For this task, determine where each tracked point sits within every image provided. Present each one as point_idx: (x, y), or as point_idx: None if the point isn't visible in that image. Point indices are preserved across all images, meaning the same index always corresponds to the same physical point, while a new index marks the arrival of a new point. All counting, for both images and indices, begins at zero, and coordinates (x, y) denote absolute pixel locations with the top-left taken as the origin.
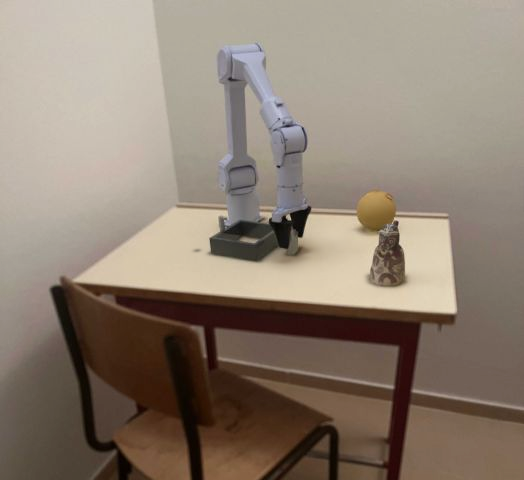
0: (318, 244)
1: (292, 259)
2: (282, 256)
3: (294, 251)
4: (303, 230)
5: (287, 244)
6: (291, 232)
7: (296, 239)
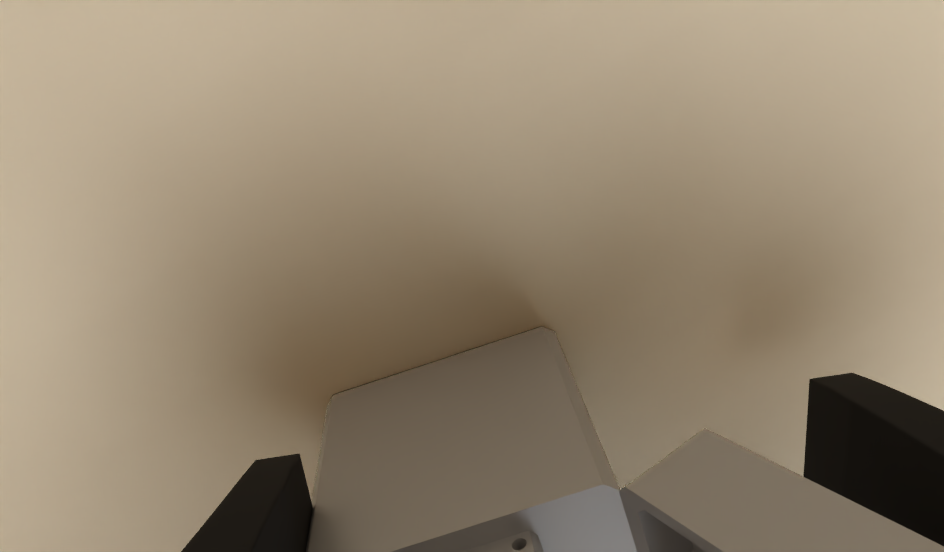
0: (5, 246)
1: (702, 258)
2: (661, 417)
3: (551, 347)
4: (241, 524)
5: (925, 404)
6: (892, 544)
7: (431, 472)
